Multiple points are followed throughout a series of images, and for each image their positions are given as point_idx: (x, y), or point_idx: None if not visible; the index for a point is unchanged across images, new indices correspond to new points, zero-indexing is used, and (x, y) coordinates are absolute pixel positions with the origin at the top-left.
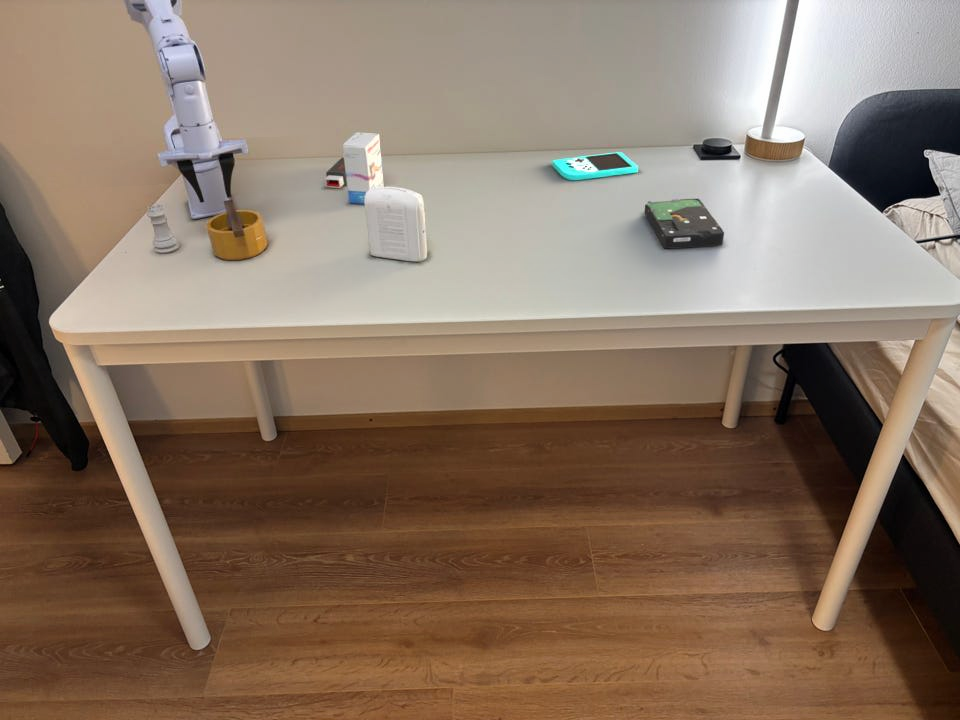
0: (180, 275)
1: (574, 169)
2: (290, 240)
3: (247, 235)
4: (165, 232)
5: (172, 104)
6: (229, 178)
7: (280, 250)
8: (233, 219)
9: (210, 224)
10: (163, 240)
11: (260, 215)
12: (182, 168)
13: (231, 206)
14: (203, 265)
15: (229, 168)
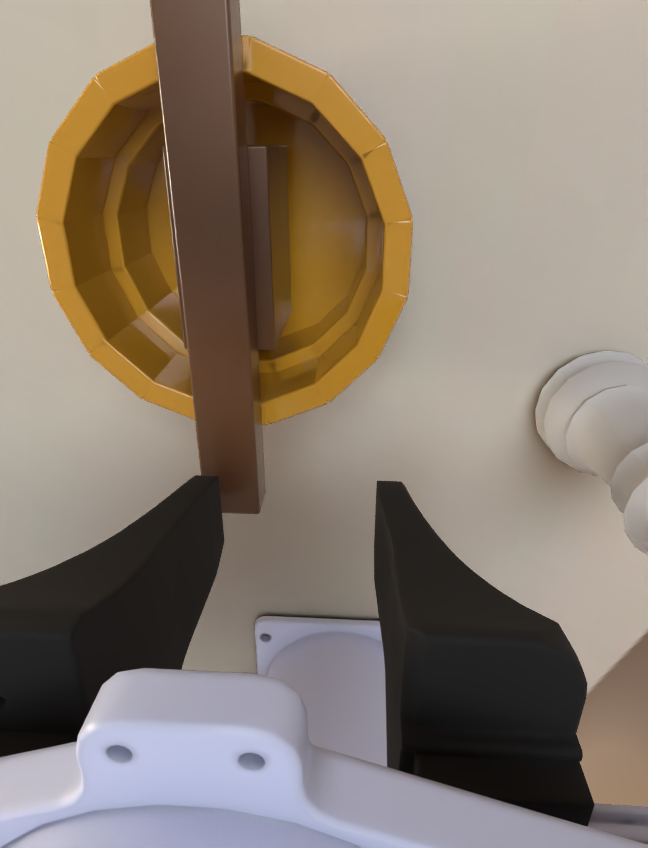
0: (622, 34)
1: None
2: (5, 216)
3: None
4: (625, 415)
5: None
6: (116, 541)
7: (53, 109)
8: (209, 163)
9: (379, 291)
10: (635, 386)
11: (48, 263)
12: (543, 686)
13: (214, 410)
14: (475, 115)
15: (40, 585)
